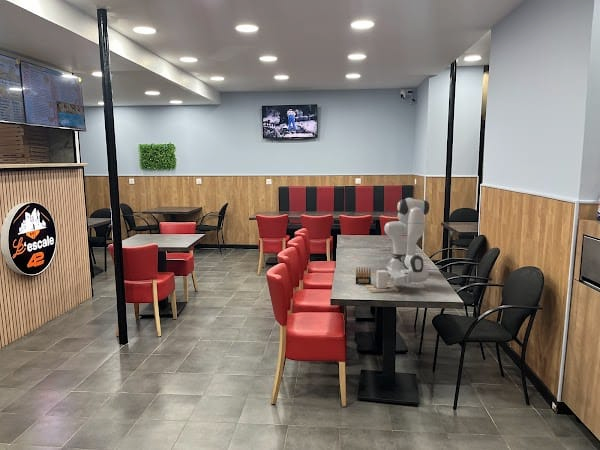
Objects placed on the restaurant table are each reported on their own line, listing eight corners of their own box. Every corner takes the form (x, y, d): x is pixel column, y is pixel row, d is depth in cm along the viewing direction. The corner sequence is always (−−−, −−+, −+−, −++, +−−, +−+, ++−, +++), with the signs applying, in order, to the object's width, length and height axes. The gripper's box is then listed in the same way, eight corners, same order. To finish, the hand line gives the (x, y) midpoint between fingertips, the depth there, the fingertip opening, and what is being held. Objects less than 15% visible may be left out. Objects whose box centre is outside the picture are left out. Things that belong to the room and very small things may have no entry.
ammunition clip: (355, 284, 310) (355, 267, 308) (355, 283, 312) (355, 266, 310) (371, 284, 308) (371, 267, 307) (371, 283, 310) (371, 267, 308)
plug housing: (376, 286, 299) (376, 270, 298) (385, 286, 300) (385, 270, 298) (378, 288, 294) (378, 272, 293) (387, 288, 295) (387, 271, 293)
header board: (365, 286, 304) (365, 284, 304) (391, 285, 306) (391, 283, 306) (371, 292, 288) (371, 291, 288) (398, 291, 290) (398, 290, 290)
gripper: (399, 267, 307) (379, 268, 306) (409, 275, 287) (388, 276, 286) (399, 276, 308) (379, 277, 307) (409, 284, 288) (388, 285, 287)
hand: (383, 277), depth 296 cm, fingers open, 8 cm apart
